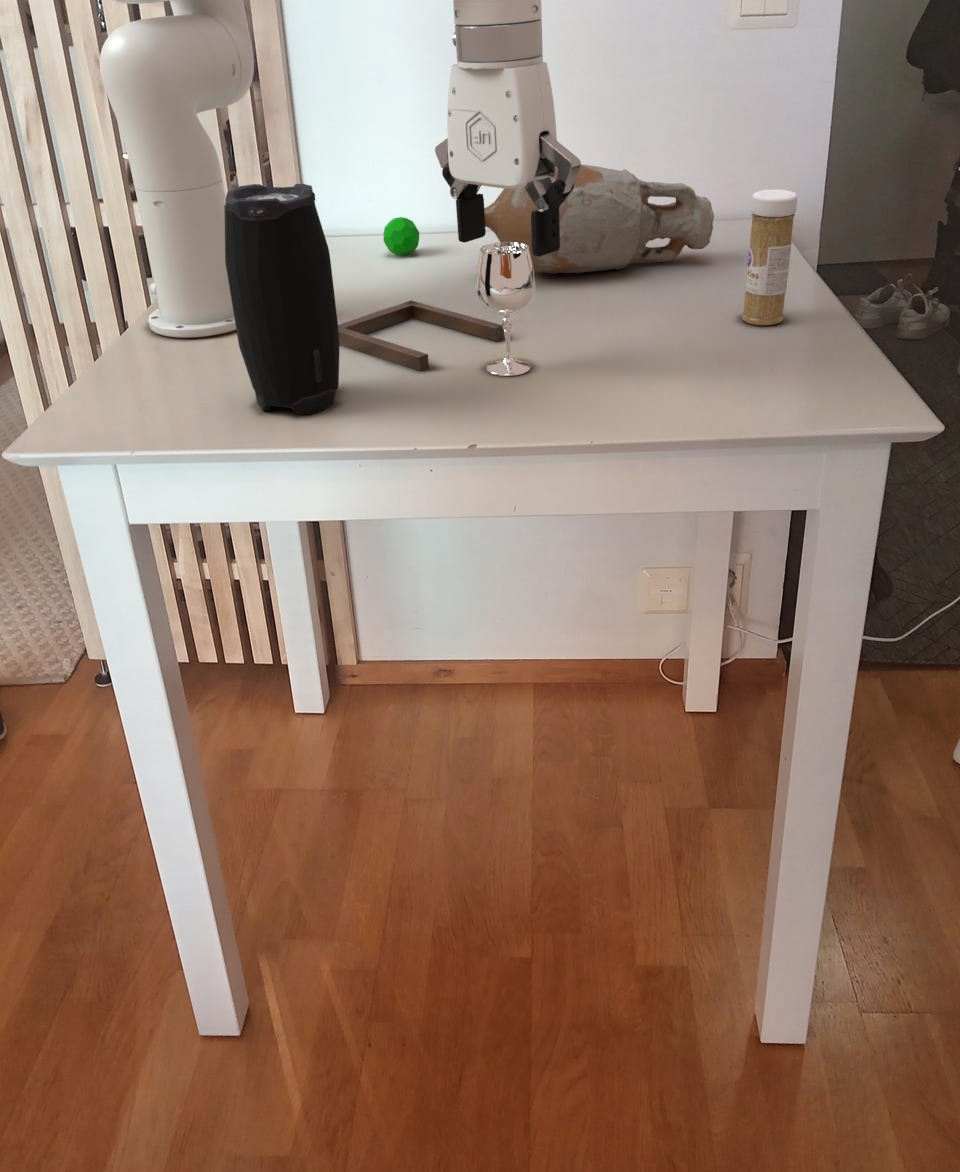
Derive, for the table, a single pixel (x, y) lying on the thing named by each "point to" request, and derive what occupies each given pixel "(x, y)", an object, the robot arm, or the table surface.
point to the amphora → (607, 221)
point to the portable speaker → (282, 296)
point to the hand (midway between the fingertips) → (508, 245)
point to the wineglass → (506, 292)
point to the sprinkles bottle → (769, 256)
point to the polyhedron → (401, 236)
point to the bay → (357, 328)
